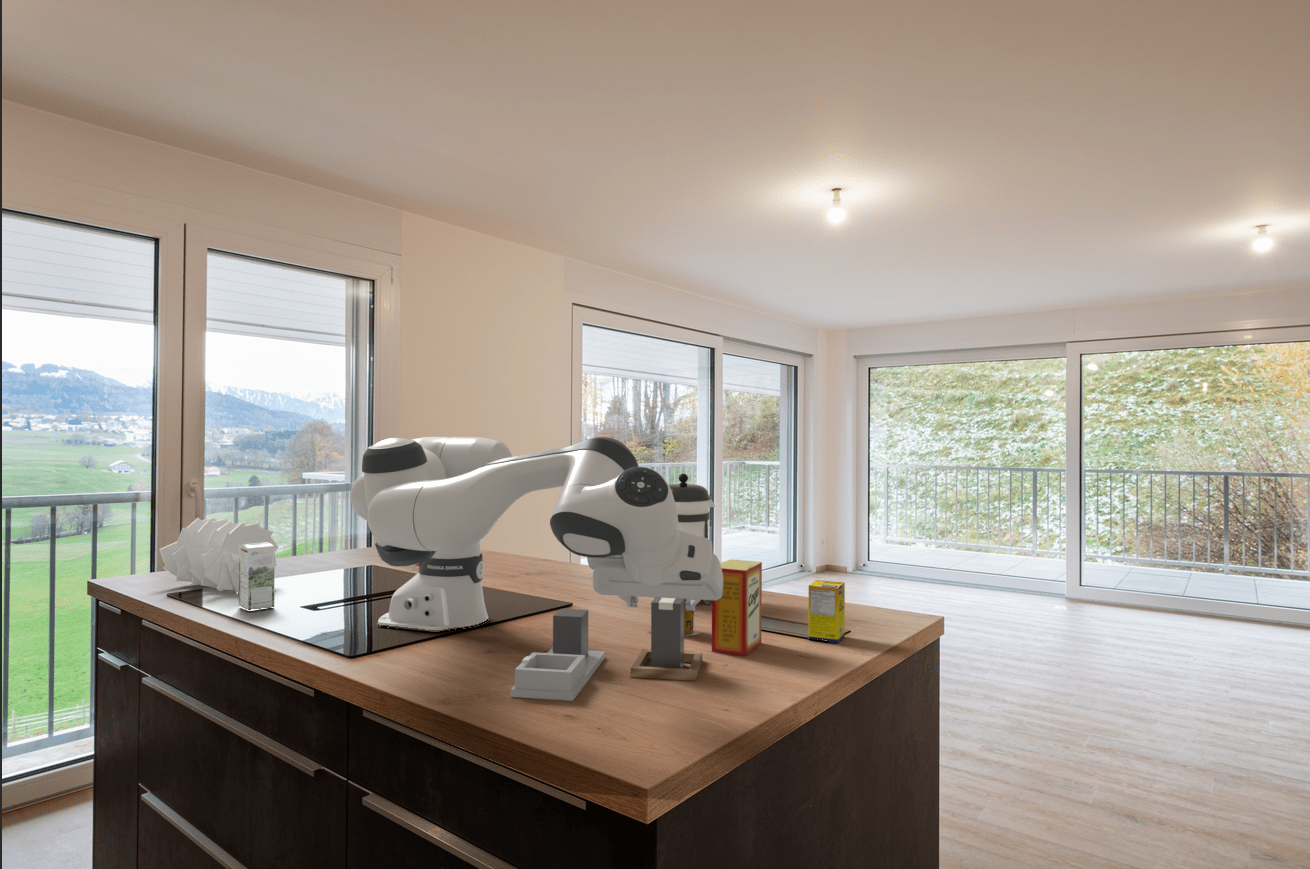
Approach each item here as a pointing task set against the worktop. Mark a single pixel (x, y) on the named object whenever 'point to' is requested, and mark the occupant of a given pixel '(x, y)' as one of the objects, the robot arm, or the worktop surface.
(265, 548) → the syrup box
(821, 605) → the supplement box
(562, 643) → the tray and post stand
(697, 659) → the holder frame
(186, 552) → the spiral staircase
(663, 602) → the dark grey block
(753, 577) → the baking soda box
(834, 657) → the worktop surface
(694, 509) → the coffee press
